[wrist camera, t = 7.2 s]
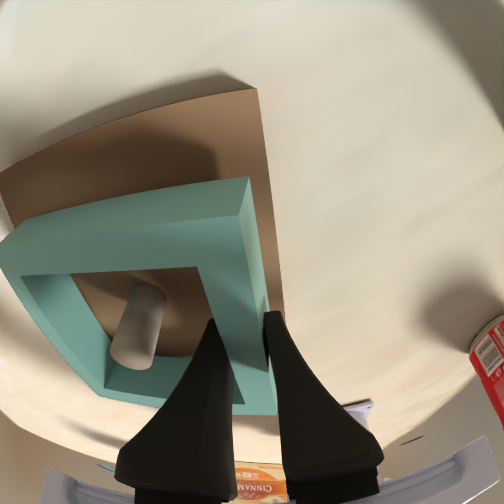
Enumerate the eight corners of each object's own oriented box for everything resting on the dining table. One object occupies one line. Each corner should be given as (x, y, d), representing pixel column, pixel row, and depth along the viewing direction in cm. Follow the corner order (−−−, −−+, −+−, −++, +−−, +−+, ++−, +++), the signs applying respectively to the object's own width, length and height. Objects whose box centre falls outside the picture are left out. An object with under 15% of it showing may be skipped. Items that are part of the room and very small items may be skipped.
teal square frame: (278, 371, 16) (276, 415, 14) (112, 363, 18) (98, 395, 16) (249, 176, 10) (238, 215, 7) (26, 219, 11) (-9, 250, 9)
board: (287, 359, 20) (296, 424, 16) (120, 369, 21) (106, 424, 16) (254, 87, 10) (265, 90, 6) (10, 166, 11) (-54, 211, 7)
